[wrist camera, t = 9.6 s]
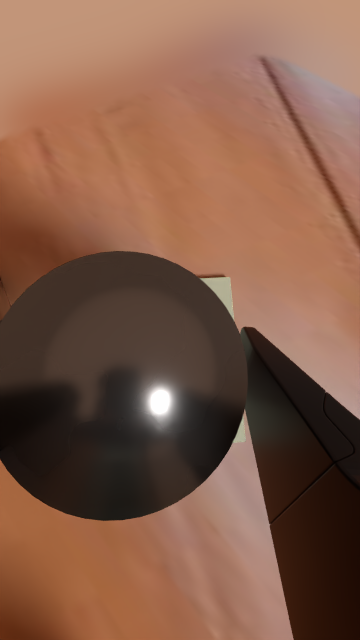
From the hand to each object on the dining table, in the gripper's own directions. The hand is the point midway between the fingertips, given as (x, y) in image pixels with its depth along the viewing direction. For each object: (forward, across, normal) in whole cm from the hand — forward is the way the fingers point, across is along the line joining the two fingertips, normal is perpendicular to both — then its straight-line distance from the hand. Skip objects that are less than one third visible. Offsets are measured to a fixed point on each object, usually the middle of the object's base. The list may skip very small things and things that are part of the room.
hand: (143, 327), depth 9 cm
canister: (+5, 0, +7) cm, 9 cm away
